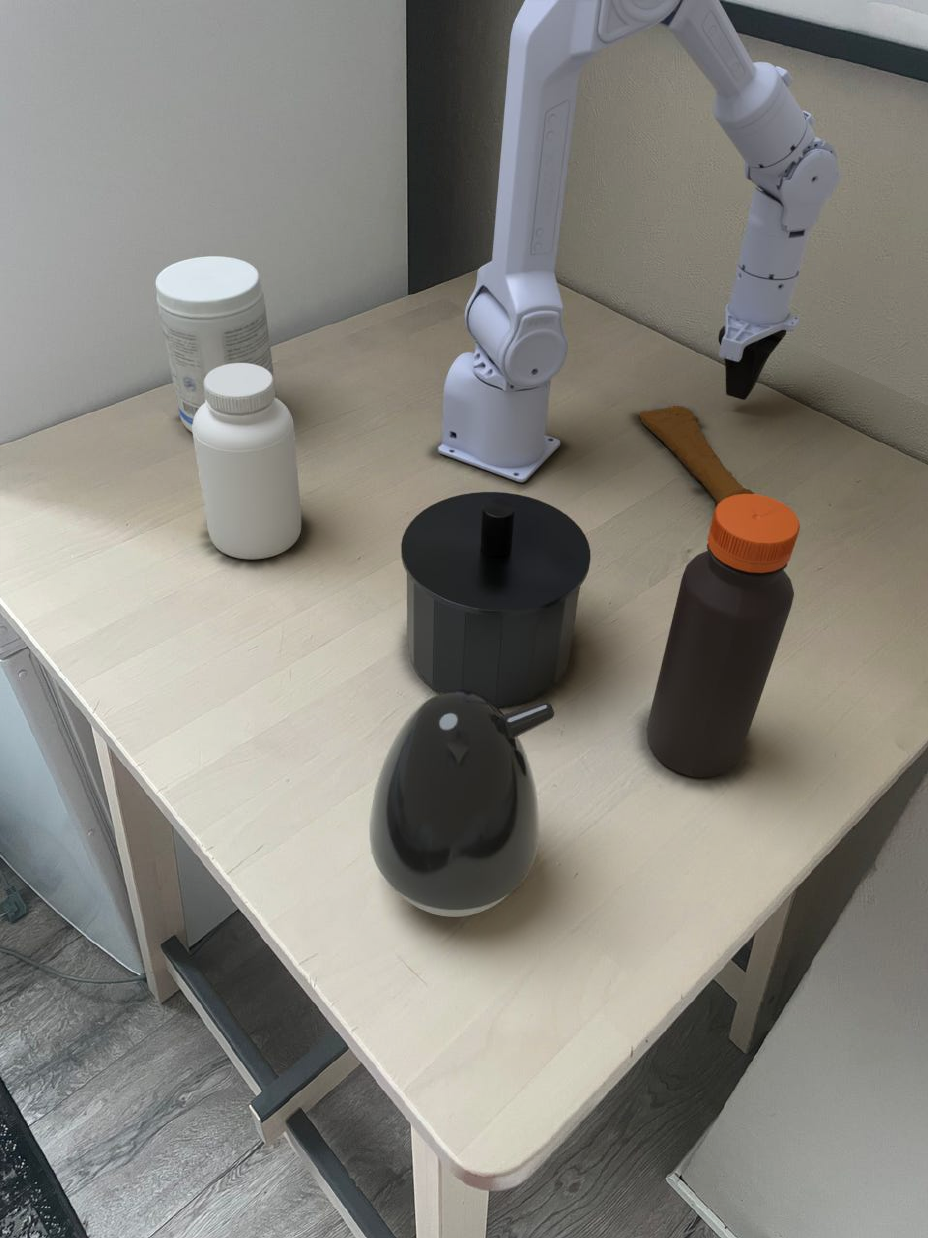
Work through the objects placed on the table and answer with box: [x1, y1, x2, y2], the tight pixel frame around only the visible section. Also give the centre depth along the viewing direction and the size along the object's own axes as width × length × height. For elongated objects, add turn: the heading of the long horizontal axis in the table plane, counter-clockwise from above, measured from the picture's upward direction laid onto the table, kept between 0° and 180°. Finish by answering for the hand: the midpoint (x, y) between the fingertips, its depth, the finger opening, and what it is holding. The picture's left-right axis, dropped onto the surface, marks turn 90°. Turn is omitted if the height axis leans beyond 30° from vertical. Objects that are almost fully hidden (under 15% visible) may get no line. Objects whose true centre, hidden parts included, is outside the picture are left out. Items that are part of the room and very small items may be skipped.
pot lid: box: [400, 491, 592, 616], centre depth 72 cm, size 13×13×5 cm
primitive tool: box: [638, 405, 755, 504], centre depth 98 cm, size 19×6×4 cm, turn 15°
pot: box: [406, 573, 581, 708], centre depth 76 cm, size 12×12×10 cm
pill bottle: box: [191, 363, 302, 560], centre depth 84 cm, size 8×8×15 cm
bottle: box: [645, 493, 801, 778], centre depth 66 cm, size 7×7×20 cm
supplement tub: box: [155, 255, 277, 434], centre depth 97 cm, size 10×10×15 cm
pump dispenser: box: [368, 690, 555, 918], centre depth 59 cm, size 10×10×15 cm
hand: (737, 394), depth 106 cm, fingers closed
